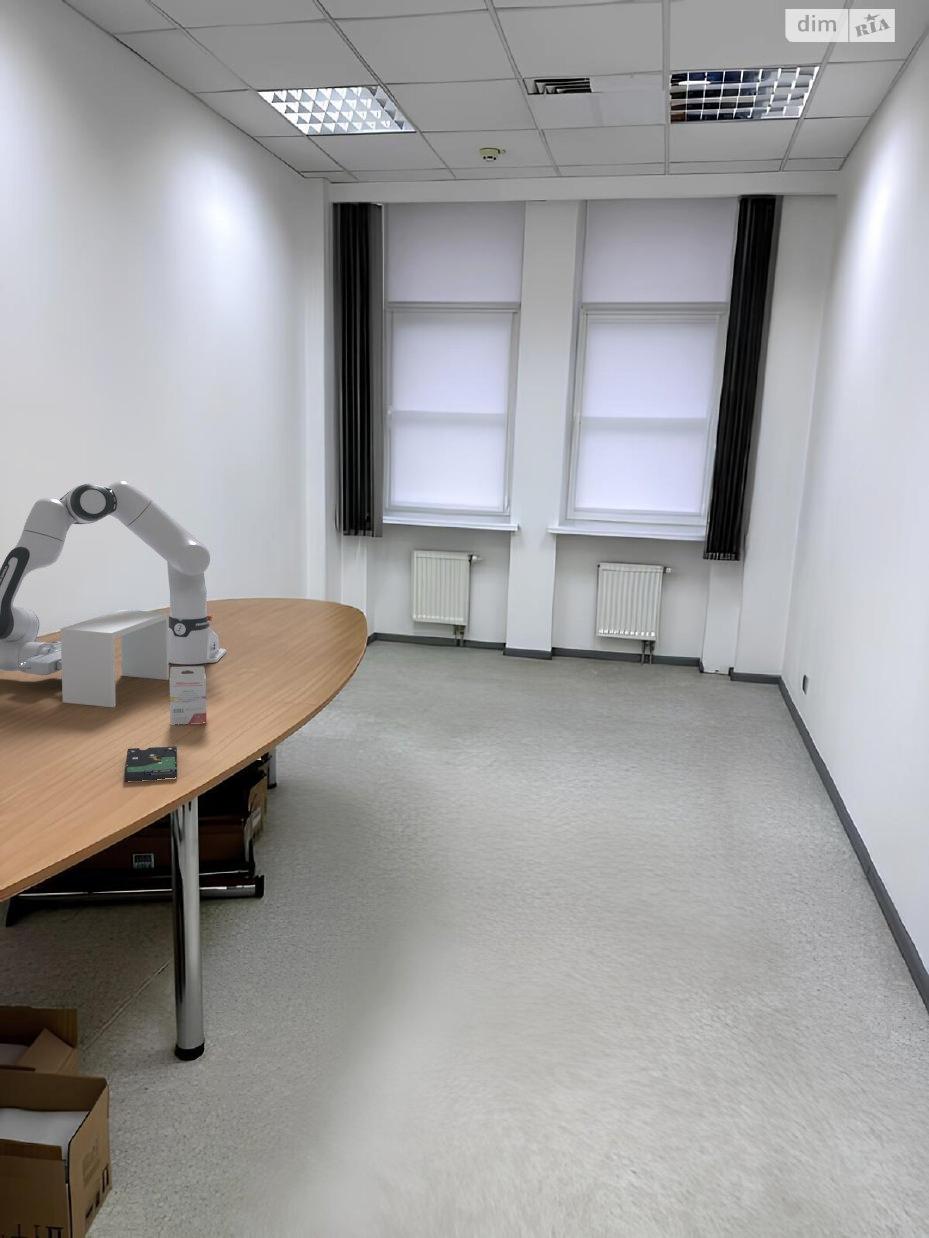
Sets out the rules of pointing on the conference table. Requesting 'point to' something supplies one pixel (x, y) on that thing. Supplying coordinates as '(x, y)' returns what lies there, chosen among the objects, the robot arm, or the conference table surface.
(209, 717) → the conference table surface
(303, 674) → the conference table surface
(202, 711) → the ink cartridge box
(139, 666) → the arch
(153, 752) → the disk drive
